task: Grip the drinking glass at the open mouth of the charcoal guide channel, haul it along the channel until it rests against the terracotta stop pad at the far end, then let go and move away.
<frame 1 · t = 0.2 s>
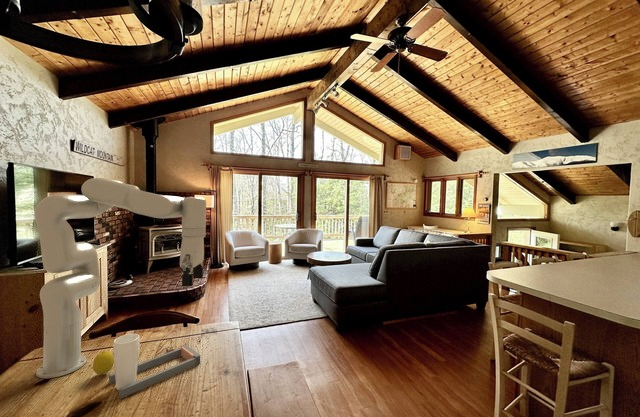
hand: (192, 281, 95), 31 cm above the table, tool pointing down, fingers open, 9 cm apart
guide channel: (157, 372, 93), on the table
drinking glass: (126, 386, 86), on the table
lemon: (103, 375, 91), on the table
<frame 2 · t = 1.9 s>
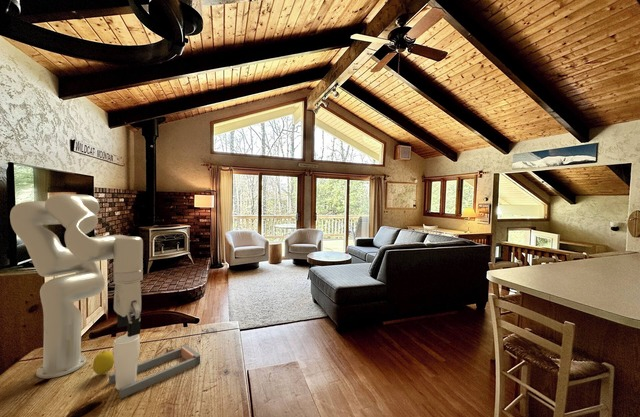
hand: (128, 330, 86), 18 cm above the table, tool pointing down, fingers open, 9 cm apart
nothing on the table moved.
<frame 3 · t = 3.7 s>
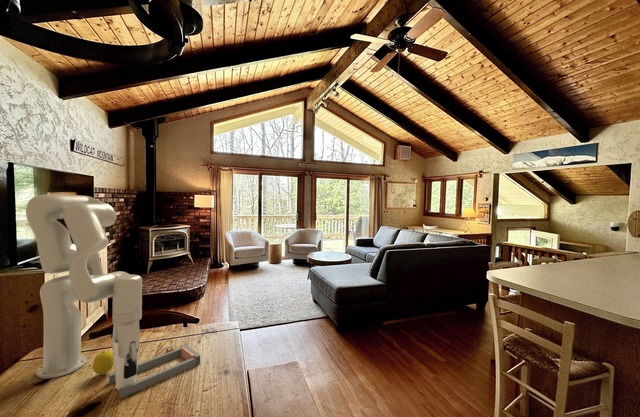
hand: (126, 371, 86), 4 cm above the table, tool pointing down, fingers closed on drinking glass, 6 cm apart
drinking glass: (126, 386, 86), on the table, touching gripper
everything else where it was.
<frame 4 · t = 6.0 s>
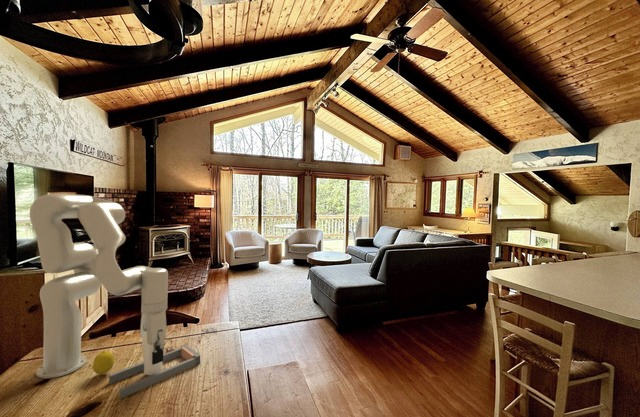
hand: (153, 358, 92), 5 cm above the table, tool pointing down, fingers closed on drinking glass, 6 cm apart
drinking glass: (153, 371, 92), point 1 cm above the table, touching gripper
everything else where it was.
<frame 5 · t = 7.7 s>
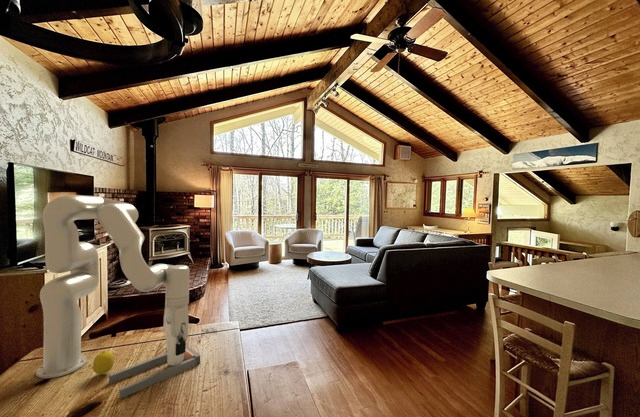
hand: (176, 349, 98), 5 cm above the table, tool pointing down, fingers closed on drinking glass, 6 cm apart
drinking glass: (175, 362, 98), point 1 cm above the table, touching gripper
everything else where it was.
when the fingers open (4 cm above the table, at t = 8.6 s): drinking glass stays where it is, on the table.
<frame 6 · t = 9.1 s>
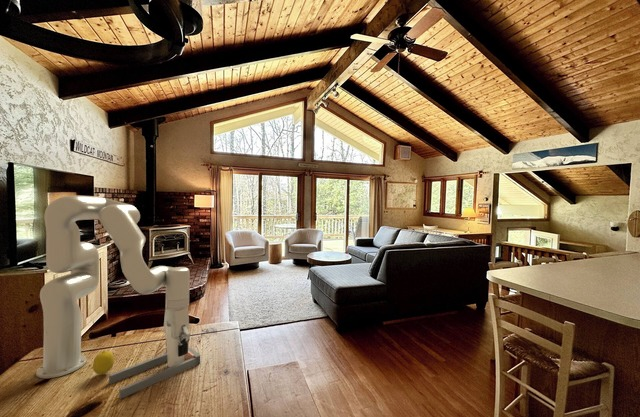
hand: (176, 350, 98), 5 cm above the table, tool pointing down, fingers open, 9 cm apart
drinking glass: (175, 365, 98), on the table
everything else where it was.
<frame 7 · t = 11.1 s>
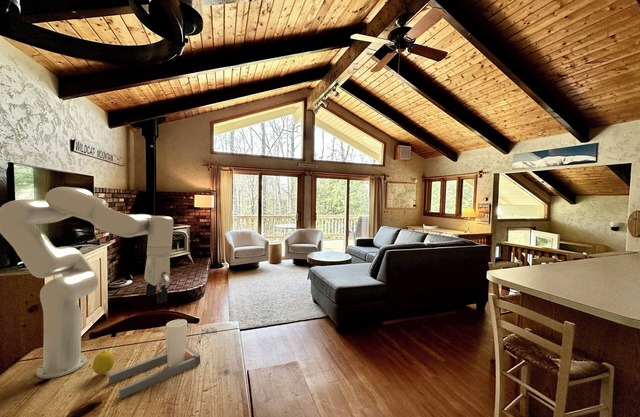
hand: (156, 298, 97), 24 cm above the table, tool pointing down, fingers open, 9 cm apart
nothing on the table moved.
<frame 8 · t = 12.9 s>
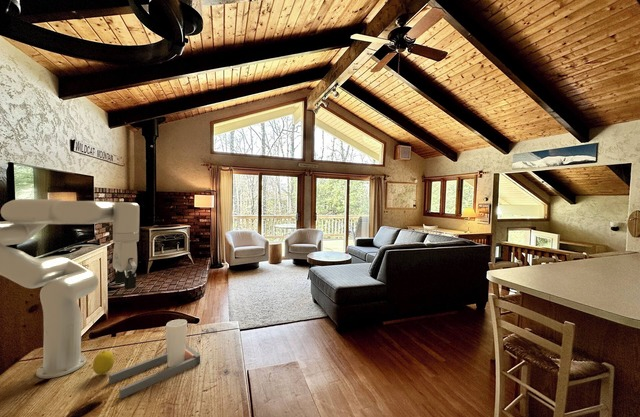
hand: (125, 285, 96), 28 cm above the table, tool pointing down, fingers open, 9 cm apart
nothing on the table moved.
at the end: drinking glass 0.1 cm from the target spot, on the table; drinking glass tilted 0°; the gripper is holding nothing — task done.
